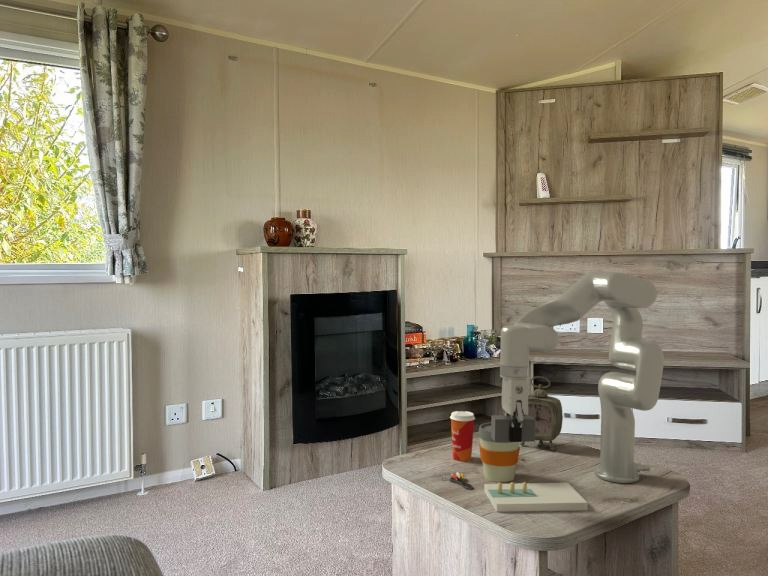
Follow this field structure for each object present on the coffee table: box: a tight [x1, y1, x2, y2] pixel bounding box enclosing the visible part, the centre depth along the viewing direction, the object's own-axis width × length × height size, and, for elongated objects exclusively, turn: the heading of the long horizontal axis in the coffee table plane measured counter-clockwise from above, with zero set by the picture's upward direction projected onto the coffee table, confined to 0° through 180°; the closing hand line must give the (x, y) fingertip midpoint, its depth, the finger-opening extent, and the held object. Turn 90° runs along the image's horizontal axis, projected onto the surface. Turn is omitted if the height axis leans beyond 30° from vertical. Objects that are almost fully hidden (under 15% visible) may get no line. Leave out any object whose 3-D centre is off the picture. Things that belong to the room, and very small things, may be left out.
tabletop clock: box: [516, 375, 564, 452], centre depth 206 cm, size 14×9×25 cm, turn 59°
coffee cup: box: [449, 410, 476, 462], centre depth 192 cm, size 8×8×15 cm
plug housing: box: [490, 414, 536, 443], centre depth 157 cm, size 11×4×6 cm, turn 93°
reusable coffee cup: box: [478, 422, 521, 483], centre depth 176 cm, size 13×13×15 cm
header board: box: [483, 481, 588, 513], centre depth 158 cm, size 24×14×5 cm, turn 93°
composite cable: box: [449, 471, 474, 491], centre depth 170 cm, size 10×5×2 cm, turn 14°
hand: (512, 438), depth 157 cm, fingers closed on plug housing, 4 cm apart
